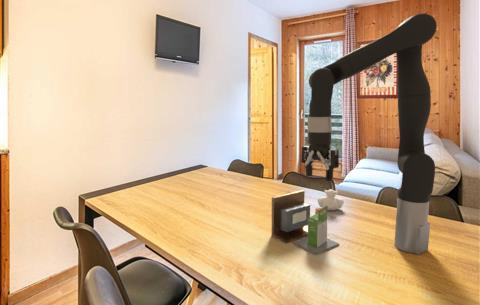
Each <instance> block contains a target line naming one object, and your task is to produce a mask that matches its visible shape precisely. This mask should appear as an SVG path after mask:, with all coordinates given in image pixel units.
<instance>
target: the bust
mask: <svg viewBox="0 0 480 305" xmlns="http://www.w3.org/2000/svg"><path fill="white" fill-rule="evenodd" d="M324 193H325V194H326V195H325V196H322V197H319V198H317V203H318V206H319V208H323V207H325V206H327V205H328V209H327V211H330V212H331V211H334V212H335V211H336V210H339V209H342V208H343V206H344V203H345V201H344V200H343V198H338V197H336V196H337V195H336V194H338V190H334V189H333V188H331V189H328V190H327V189H324Z"/></svg>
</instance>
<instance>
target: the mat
mask: <svg viewBox="0 0 480 305" xmlns="http://www.w3.org/2000/svg"><path fill="white" fill-rule="evenodd" d="M307 243H308V236H306V237H303V238H302V239H298V240H295V241H293V245H296V246H298V247H300V248H301V249H303V250H306V251H307V252H310V253H311V254H314V255H315V256H317V255H318V254H321V253H324V252H326V251H329V250H331V249H333V248H336V247H338V246H340V243H339V242H336V241H334V240H332V239H331V238H328V237H327V241H326V242H325V243H323V244H322V245H320V246H319V247H318V248H317V247H313V246H310V245H308V244H307Z"/></svg>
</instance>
